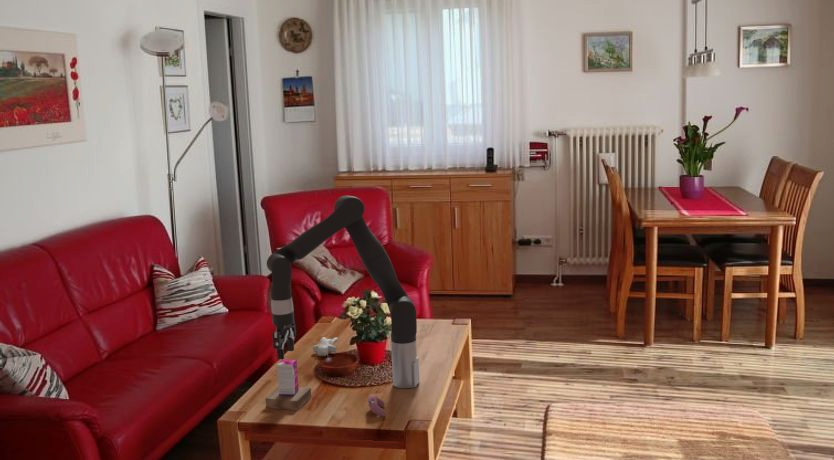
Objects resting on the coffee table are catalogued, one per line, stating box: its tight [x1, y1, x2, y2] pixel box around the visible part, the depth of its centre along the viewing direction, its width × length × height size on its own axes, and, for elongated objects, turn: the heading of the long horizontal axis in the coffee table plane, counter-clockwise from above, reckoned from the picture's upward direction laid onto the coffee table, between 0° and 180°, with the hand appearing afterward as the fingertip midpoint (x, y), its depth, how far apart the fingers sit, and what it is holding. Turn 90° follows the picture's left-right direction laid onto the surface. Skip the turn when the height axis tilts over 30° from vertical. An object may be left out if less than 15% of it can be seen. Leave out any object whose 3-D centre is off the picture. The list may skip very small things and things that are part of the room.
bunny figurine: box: [312, 336, 340, 357], centre depth 351 cm, size 10×5×15 cm
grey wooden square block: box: [265, 386, 312, 411], centre depth 300 cm, size 12×12×4 cm
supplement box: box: [276, 359, 300, 396], centre depth 298 cm, size 6×6×12 cm
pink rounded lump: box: [367, 393, 387, 418], centre depth 288 cm, size 10×5×7 cm, turn 5°
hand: (286, 354), depth 296 cm, fingers open, 8 cm apart
